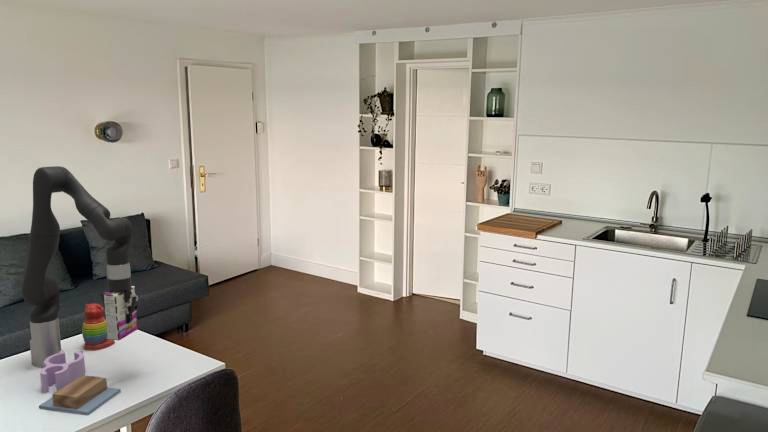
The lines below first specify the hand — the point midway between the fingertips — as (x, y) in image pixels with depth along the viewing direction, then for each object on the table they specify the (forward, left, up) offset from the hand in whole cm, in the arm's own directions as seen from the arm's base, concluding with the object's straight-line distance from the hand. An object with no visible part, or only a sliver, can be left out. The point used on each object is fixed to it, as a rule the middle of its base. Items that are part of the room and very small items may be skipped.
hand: (121, 321), depth 208 cm
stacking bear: (-29, +22, -21) cm, 42 cm away
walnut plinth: (-4, -18, -20) cm, 27 cm away
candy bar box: (0, 0, -5) cm, 5 cm away
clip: (-21, -6, -21) cm, 30 cm away
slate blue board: (-4, -18, -21) cm, 28 cm away
